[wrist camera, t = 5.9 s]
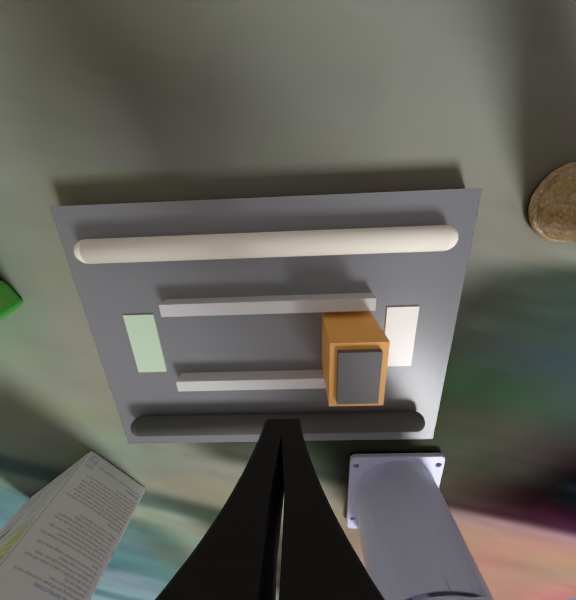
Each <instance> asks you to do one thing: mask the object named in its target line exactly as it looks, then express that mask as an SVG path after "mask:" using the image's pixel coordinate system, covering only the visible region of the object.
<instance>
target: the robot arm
mask: <svg viewBox="0 0 576 600" xmlns="http://www.w3.org/2000/svg"><path fill="white" fill-rule="evenodd" d="M444 463H445V457H444V456H443V454H441V453H383V454H353V455H351V456H350V464H349V482H348V500H347V518H346V522H347V526H348V527H349V528H358V532H359V537H360V542H361V547H362V552H363V557H364V563H365V567H364V566H363V564H362V562H361V561H360V559H359V557H358V556H357V554H356V552H355V551H354V549H353V547H352V546H351V544H350V542H349V541H348V539H347V537H346V535H345V533H344V531H343V530H342V528H341V526H340V524H339V522H338V520H337V518H336V516H335V514H334V512H333V510H332V508H331V506H330V504H329V502H328V500H327V498H326V496H325V494H324V491H323V489H322V487H321V484H320V482H319V480H318V477H317V475H316V472H315V470H314V467H313V465H312V462H311V459H310V456H309V453H308V450H307V447H306V444H305V440H304V437H303V432H302V427H301V421H300V420H299V419H298V418H297V419H267V420H266V421H265V423H264V426H263V429H262V432H261V434H260V437H259V440H258V442H257V444H256V447H255V449H254V451H253V453H252V455H251V457H250V459H249V461H248V464H247V466H246V468H245V470H244V472H243V473H242V475H241V477H240V479H239V481H238V483H237V484H236V486H235V488H234V490H233V492H232V493H231V495H230V497H229V498H228V500H227V502H226V503H225V505H224V507H223V508H222V510H221V511H220V513H219V515H218V516H217V518H216V519H215V521H214V522H213V524H212V525H211V527H210V528H209V530H208V531H207V532H206V534H205V535H204V537H203V538H202V540H201V541H200V543H199V544H198V545H197V547H196V548H195V550H194V551H193V552H192V554H191V555H190V556H189V558H188V559H187V560H186V561H185V563H184V564H183V565H182V567H181V568H180V569H179V570H178V572H177V573H176V574H175V575H174V577H173V578H172V579H171V581H170V582H169V583H168V584H167V586H166V587H165V588H164V589H163V591H162V592H161V593H160V594H159V596H158V597H157V598H156V599H155V600H275V597H276V569H277V555H278V546H279V536H280V526H281V516H282V507H283V497H284V517H283V537H282V557H281V575H280V592H279V600H494V599H493V597H492V595H491V593H490V591H489V589H488V587H487V585H486V583H485V581H484V579H483V577H482V575H481V573H480V571H479V569H478V567H477V565H476V563H475V561H474V558H473V556H472V554H471V552H470V550H469V548H468V546H467V544H466V542H465V540H464V538H463V536H462V534H461V532H460V530H459V528H458V526H457V524H456V522H455V520H454V518H453V516H452V514H451V512H450V510H449V508H448V506H447V504H446V502H445V500H444V498H443V496H442V494H441V492H440V490H439V485H440V481H441V476H442V472H443V468H444ZM365 568H366V569H365Z"/></svg>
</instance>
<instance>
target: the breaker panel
mask: <svg viewBox="0 0 576 600" xmlns="http://www.w3.org/2000/svg"><path fill="white" fill-rule="evenodd" d="M481 191H482V188H466V189H443V190H420V191H397V192H373V193H350V194H327V195H304V196H281V197H258V198H235V199H212V200H189V201H165V202H142V203H119V204H96V205H73V206H52V207H50V209H51V212H52V215H53V218H54V221H55V224H56V227H57V230H58V233H59V236H60V239H61V242H62V245H63V248H64V251H65V254H66V257H67V260H68V263H69V266H70V269H71V272H72V275H73V278H74V281H75V284H76V287H77V290H78V293H79V296H80V299H81V302H82V305H83V308H84V311H85V314H86V317H87V320H88V323H89V326H90V329H91V332H92V335H93V338H94V341H95V344H96V347H97V350H98V353H99V356H100V359H101V362H102V365H103V368H104V371H105V374H106V377H107V380H108V383H109V386H110V389H111V392H112V395H113V398H114V401H115V404H116V407H117V410H118V413H119V416H120V419H121V422H122V425H123V428H124V431H125V434H126V437H127V440H128V443H129V444H131V443H196V442H258V440H259V437H260V435H202V436H140V437H139V436H135V435H133V434H132V432H131V424H132V422H133V421H134V420H135V419H136V418H137V417H139V416H158V415H211V414H265V413H318V412H372V411H417V412H419V413H420V414H421V415H422V416H423V417H424V420H425V426H424V428H423V430H421V431H419V432H386V433H325V434H303V437H304V440H305V441H325V440H390V439H433V435H434V430H435V425H436V420H437V414H438V409H439V404H440V399H441V394H442V389H443V384H444V379H445V374H446V369H447V364H448V359H449V353H450V348H451V343H452V338H453V333H454V328H455V323H456V318H457V313H458V308H459V303H460V298H461V292H462V287H463V282H464V277H465V272H466V267H467V262H468V257H469V252H470V247H471V242H472V237H473V231H474V226H475V221H476V216H477V211H478V206H479V201H480V196H481ZM432 225H449V226H452V227H454V228H455V229H456V230H457V232H458V241H457V243H456V245H455V246H454V247H453V248H451V249H449V250H447V251H431V252H403V253H376V254H348V255H321V256H294V257H266V258H239V259H211V260H184V261H156V262H129V263H101V264H86V263H83V262H81V261H79V260H78V259H77V258H76V257H75V255H74V251H73V250H74V246H75V244H76V243H77V242H79V241H80V240H83V239H102V238H127V237H153V236H178V235H204V234H229V233H254V232H280V231H305V230H331V229H356V228H382V227H407V226H432ZM349 311H370V312H371V314H372V315H373V317H374V318H375V320H376V321H377V323H378V324H379V326H380V327H381V329H382V330H383V332H384V333H385V335H386V336H387V338H388V340H389V341H390V346H389V355H388V365H387V375H386V384H385V394H384V403H383V405H372V406H329V404H328V398H327V393H326V387H325V381H324V375H323V369H322V312H349Z"/></svg>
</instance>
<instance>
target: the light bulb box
mask: <svg viewBox="0 0 576 600" xmlns="http://www.w3.org/2000/svg"><path fill="white" fill-rule="evenodd" d="M144 492H145V488H144V487H143V486H141V485H140V484H139V483H137V482H136V481H134V480H133V479H132V478H130V477H129V476H127V475H126V474H124V473H123V472H122V471H120V470H119V469H117V468H116V467H115V466H113V465H112V464H110V463H109V462H107V461H106V460H105V459H103V458H102V457H100V456H99V455H98V454H96V453H95V452H93V451H90V452H89V453H87V454H86V455H85V456H83V457H82V458H81V459H80V460H78V461H77V462H76V463H74V464H73V465H72V466H71V467H69V468H68V469H67V470H66V471H64V472H63V473H62V474H60V475H59V476H58V477H56V478H55V479H54V480H53V481H51V482H50V483H49V484H47V485H46V486H45V487H44V488H42V489H41V490H40V491H38V492H37V493H36V494H35V495H33V496H32V497H31V498H29V499H28V500H27V502H26V503H25V504H24V505H23V506H22V507H21V508H20V509H19V511H18V512H17V513H16V514H15V515H14V516H13V517H12V519H11V520H10V521H9V522H8V523H7V524H6V525H5V527H4V528H3V529H2V530H1V531H0V600H91V597H92V595H93V593H94V591H95V589H96V587H97V585H98V583H99V581H100V579H101V577H102V575H103V573H104V571H105V569H106V567H107V565H108V563H109V561H110V559H111V557H112V555H113V553H114V551H115V549H116V547H117V545H118V543H119V541H120V539H121V537H122V535H123V533H124V531H125V529H126V527H127V525H128V523H129V521H130V519H131V517H132V515H133V513H134V511H135V509H136V507H137V506H138V504H139V501H140V499H141V498H142V496H143V494H144Z"/></svg>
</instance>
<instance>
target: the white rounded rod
mask: <svg viewBox="0 0 576 600" xmlns="http://www.w3.org/2000/svg"><path fill="white" fill-rule="evenodd" d="M457 241H458V232H457V230H456V229H455V228H454V227H452V226H449V225H432V226H407V227H382V228H356V229H331V230H305V231H280V232H254V233H229V234H204V235H178V236H153V237H127V238H102V239H83V240H80V241H79V242H77V243H76V244H75V246H74V250H73V251H74V255H75V257H76V258H77V259H78V260H79V261H81V262H83V263H86V264H101V263H129V262H156V261H184V260H211V259H239V258H266V257H294V256H321V255H348V254H376V253H403V252H431V251H447V250H449V249H451V248H453V247H454V246H455V245H456V243H457Z"/></svg>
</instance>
